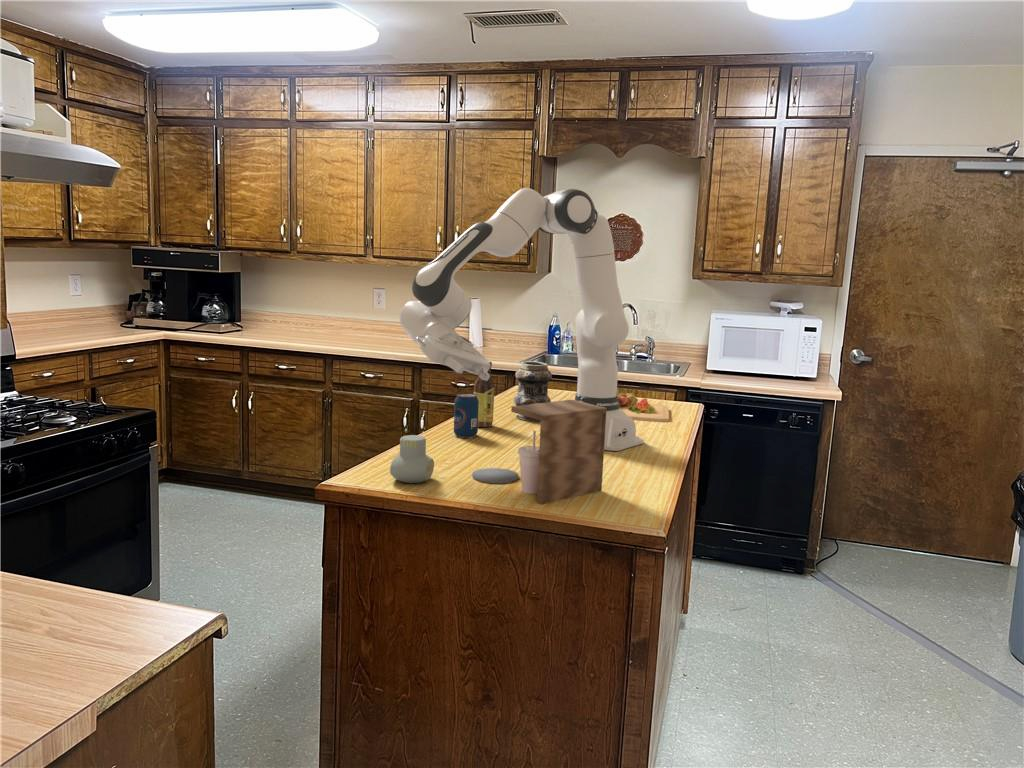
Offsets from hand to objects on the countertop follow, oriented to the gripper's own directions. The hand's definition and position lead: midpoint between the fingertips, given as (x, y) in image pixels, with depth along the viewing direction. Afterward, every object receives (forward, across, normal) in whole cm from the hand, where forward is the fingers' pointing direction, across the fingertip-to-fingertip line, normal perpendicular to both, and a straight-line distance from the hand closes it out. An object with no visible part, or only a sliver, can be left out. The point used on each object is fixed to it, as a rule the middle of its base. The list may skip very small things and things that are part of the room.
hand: (474, 374), depth 186 cm
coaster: (+16, +7, +17) cm, 25 cm away
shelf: (+31, +9, +10) cm, 34 cm away
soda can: (-17, +32, +25) cm, 44 cm away
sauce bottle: (-23, +44, +24) cm, 56 cm away
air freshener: (+8, -8, +26) cm, 29 cm away
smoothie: (+28, +5, +13) cm, 31 cm away
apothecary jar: (-24, +64, +18) cm, 71 cm away
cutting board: (-16, +95, +5) cm, 96 cm away
